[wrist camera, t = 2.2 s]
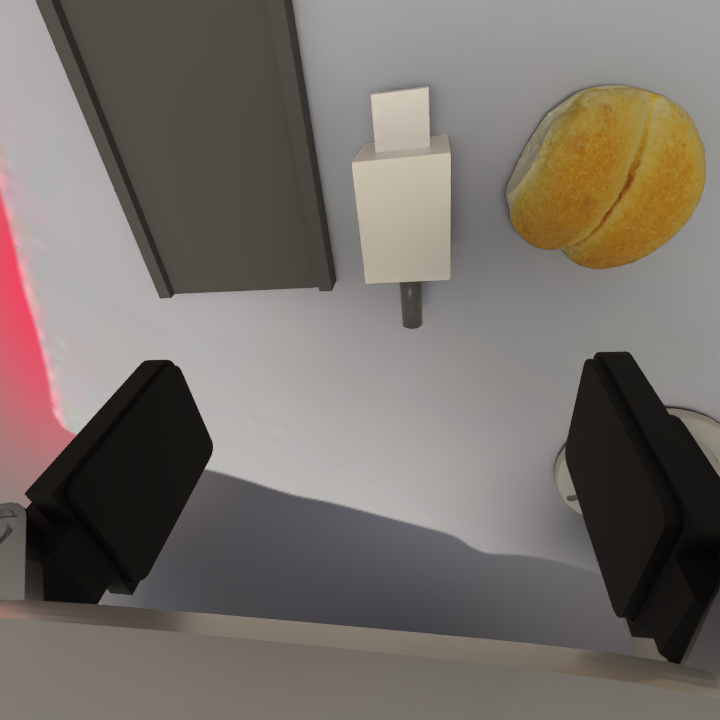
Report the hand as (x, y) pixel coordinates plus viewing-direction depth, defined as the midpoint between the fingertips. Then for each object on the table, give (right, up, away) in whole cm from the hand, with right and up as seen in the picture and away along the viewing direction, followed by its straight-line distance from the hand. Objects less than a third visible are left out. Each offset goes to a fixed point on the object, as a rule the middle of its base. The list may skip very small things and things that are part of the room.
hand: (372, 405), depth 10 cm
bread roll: (+12, +11, +13) cm, 21 cm away
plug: (+2, +11, +15) cm, 18 cm away
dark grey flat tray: (-9, +14, +14) cm, 22 cm away
